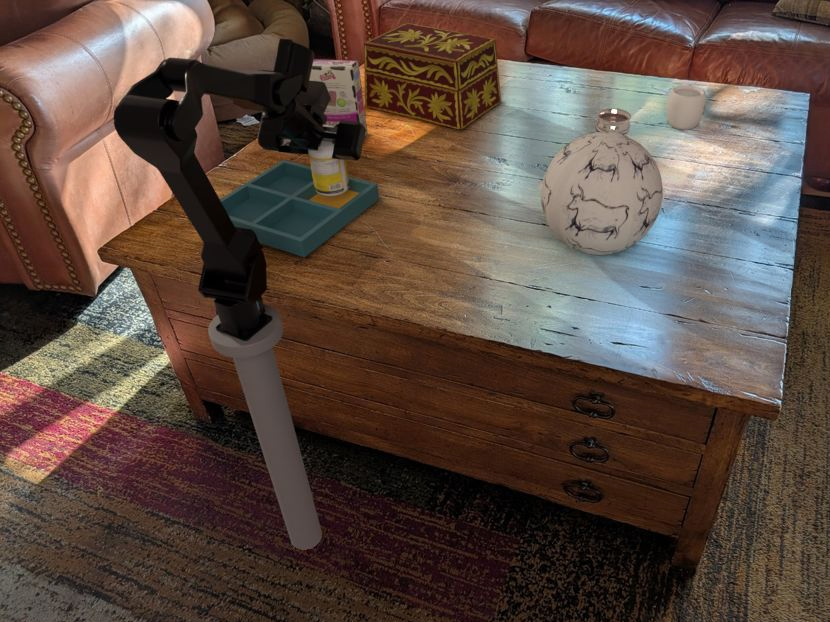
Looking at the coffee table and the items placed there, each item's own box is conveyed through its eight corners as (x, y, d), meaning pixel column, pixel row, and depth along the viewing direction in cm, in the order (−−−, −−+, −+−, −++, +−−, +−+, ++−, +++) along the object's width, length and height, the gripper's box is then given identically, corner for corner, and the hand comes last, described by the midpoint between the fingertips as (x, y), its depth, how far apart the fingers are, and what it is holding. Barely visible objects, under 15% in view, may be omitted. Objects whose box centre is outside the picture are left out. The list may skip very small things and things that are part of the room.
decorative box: (364, 107, 175) (356, 42, 165) (409, 82, 187) (404, 20, 177) (460, 131, 164) (458, 63, 154) (501, 102, 176) (502, 38, 166)
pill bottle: (337, 178, 140) (328, 119, 133) (356, 189, 137) (348, 130, 129) (308, 189, 137) (297, 130, 129) (327, 201, 133) (317, 141, 126)
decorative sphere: (677, 254, 125) (699, 144, 112) (587, 292, 117) (599, 178, 104) (602, 206, 138) (614, 102, 125) (516, 237, 130) (519, 130, 117)
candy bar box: (368, 134, 164) (359, 59, 153) (362, 143, 160) (352, 68, 149) (321, 131, 165) (308, 57, 154) (313, 140, 161) (300, 65, 151)
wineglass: (631, 174, 147) (639, 117, 139) (604, 183, 145) (611, 125, 137) (610, 161, 152) (616, 105, 144) (584, 170, 149) (589, 113, 141)
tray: (304, 257, 126) (301, 241, 124) (206, 226, 134) (201, 210, 132) (379, 199, 141) (377, 183, 139) (286, 174, 149) (283, 159, 147)
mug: (695, 136, 161) (702, 101, 155) (658, 128, 164) (663, 94, 159) (710, 116, 168) (717, 82, 163) (674, 109, 172) (680, 76, 166)
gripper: (354, 75, 117) (386, 116, 132) (251, 66, 121) (293, 106, 136) (340, 142, 116) (374, 175, 131) (237, 130, 120) (281, 164, 135)
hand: (330, 153), depth 133 cm, fingers closed on pill bottle, 6 cm apart
